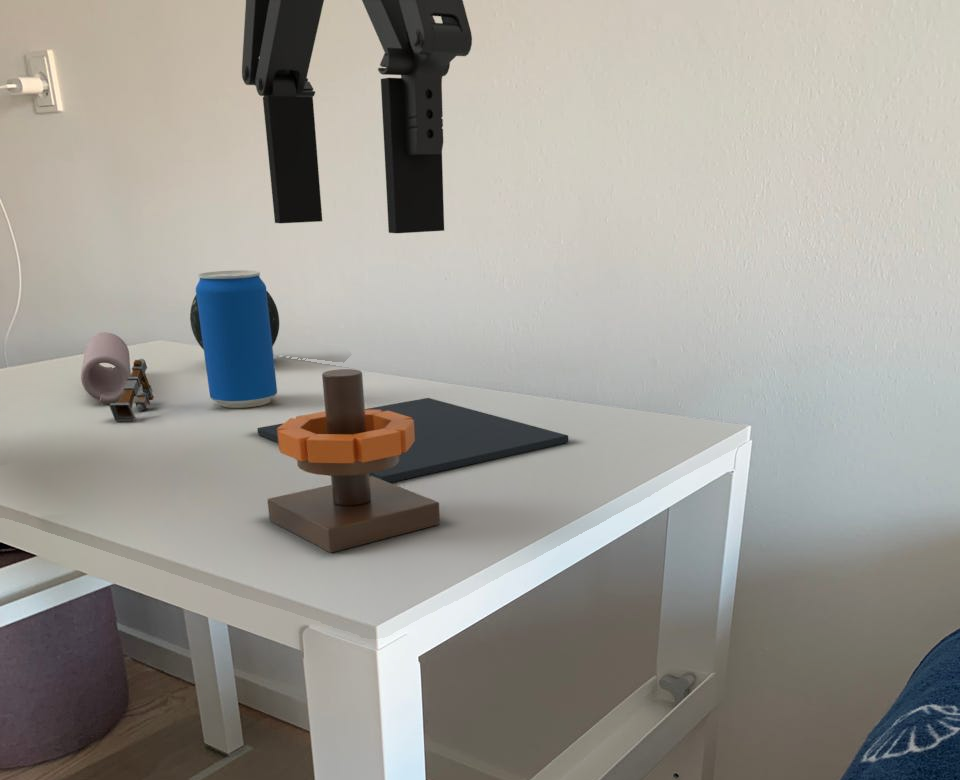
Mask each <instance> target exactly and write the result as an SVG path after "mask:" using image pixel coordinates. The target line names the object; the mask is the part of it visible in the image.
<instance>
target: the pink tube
mask: <svg viewBox="0 0 960 780" xmlns="http://www.w3.org/2000/svg"><path fill="white" fill-rule="evenodd" d="M101 364H109V365H112V366H114V367H112V366H104V365H101ZM131 374H132V372H131V359H130V350H129V347H128V345H127V344H126V342H125V341H124V340H123V338H121V337H120V336H118V335H117V334H114V333H112V332H108V331H107V332H106V331H104V332H103V331H102V332H97V333H95V334H93V335H92V336H91V337H90V338H89V339H88V341H87V342H86V345H85V349H84V354H83V359H82V366H81V370H80V382H81V385H82V387H83V389H84V390H85V392H86V393H87V394H88V395H89V396H90V397H92V398H94V399H95V400H97V401H99V403H100V404H104V405H105V404H106V405H111V403H117V402H118V401H119V400H120V398H121V397H122V395H123V393H124V387H125V385H126V381H127V379H128V377H130V376H131Z"/></svg>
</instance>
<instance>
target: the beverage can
mask: <svg viewBox="0 0 960 780" xmlns="http://www.w3.org/2000/svg"><path fill="white" fill-rule="evenodd" d="M260 275H261V272H260V271H258V270H246V269H245V270H244V269H243V270H242V269H241V270H219V271H218V270H217V271H208V272H201V273H199V274H198V275H197V276H198V278H199V280H198V282H197V284H196V286H195V295H196V296H197V304H198V311H199V318H200V326H201V333H202V341H203V348H204V350H203V352H204V353H203V355H204V362H205V368H206V376H207V384H208V392H209V398H210V399H212V401H215V402H217V403H218V405H219V406H221V407H223V408H229V409H230V408H231V409H244V408H245V409H246V408H256V407H260V406H264V405H267V404H269V403H270V402H271V400H272V399H273V398H274V397H275V396H276V395H277V394H278V387H277V377H276V367H275V359H274V358H275V357H274V348H273V347H274V346H273V347H272V338H271V329H270V319H269V310H268V301H267V291H268V290H267V286H266V283H265V282H264V280H263V279H261V277H260ZM266 290H267V291H266Z"/></svg>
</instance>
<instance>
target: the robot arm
mask: <svg viewBox="0 0 960 780" xmlns="http://www.w3.org/2000/svg"><path fill="white" fill-rule="evenodd" d="M361 1H362V3H363V7H364V8H365V11H366V13H367V16H368V18H369V20H370V22H371V24H372V27H373V29H374V31H375V34H376V36H377V38H378V40H379V42H380V45H381V47H382V50H383V52H384V54H383V55H382V59H381V61H380V63H379V66H380V67H378V68H377V71H378V72H379V74H380V75H386V76H387V75H388V76H400V77H385V78H384V77H383V78H380V93H381V113H382V130H383V149H384V150H383V151H384V168H385V169H384V170H385V187H386V207H387V226H388V229H387V230H388V234H410V233H411V234H412V233H428V232H429V233H430V232H444V231H445V211H444V209H445V208H444V207H445V206H444V176H443V174H444V173H443V146H444V129H443V127H444V119H443V114H444V113H443V112H444V111H443V77H446V76H447V74H449V70H450V66H451V62H452V61H453V60H454V59H455V58H456V57H467V56H468V55H469V54H470V52H471V50H472V46H473V35H472V30H471V26H470V23H469V19H468V15H467V12H466V7H465V4H464V1H463V0H361ZM324 3H325V0H245V8H244V29H243V41H242V42H243V43H242V61H241V78H242V81H243V83H244V84H245V85H246V86H255V88H256V92H257V94H258V96H260V97H262V102H263V113H264V124H265V135H266V145H267V156H268V166H269V173H270V174H269V177H270V187H271V198H272V207H273V218H274V224H295V223H297V224H298V223H314V222H315V223H316V222H317V223H318V222H319V223H320V222H323V212H322V211H323V210H322V201H321V200H322V199H321V198H322V197H321V185H320V174H319V173H320V171H319V159H318V148H317V135H316V133H317V132H316V122H315V109H314V107H315V106H314V97H315V94H316V91H315V90H314V88H313V86H312V84H311V81H309V78H308V73H309V69H310V64H311V59H312V56H313V51H314V46H315V42H316V38H317V34H318V29H319V24H320V21H321V16H322V11H323V6H324ZM435 17H440V18H441V22H436V20H435Z"/></svg>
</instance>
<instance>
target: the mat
mask: <svg viewBox="0 0 960 780" xmlns="http://www.w3.org/2000/svg"><path fill="white" fill-rule="evenodd" d="M365 410H382V412H383V411H391V412H395V413H398V414H401V415H405V416H408V417H411V418H412V419H413V420H414V433H415V441H414V443H413V444H412V445H411V447H410V448H409V449H408V451H407V452H401V455H400V461H399V463H398V464H396V465H395V466H393V467H391V468H389V469H386V470H383V471H379V472H374V473H369V476H373V477H376V478H378V479H381V480H384V481H386V482H389V483H391V484H392V483H395V482H400V481H403V480H404V481H405V480H408V479H412V478H416V477H420V476H425V475H430V474H435V473H439V472H443V471H447V470H452V469H455V468H456V469H457V468H461V467H466V466H470V465H474V464H479V463H482V462H488V461H492V460H496V459H500V458H505V457H510V456H514V455H517V454H523V453H528V452H533V451H536V450H541V449H545V448H549V447H554V446H559V445H562V444H567V443H569V435H568V434H565V433H561V432H557V431H553V430H550V429H546V428H542V427H538V426H534V425H531V424H527V423H523V422H520V421H516V420H512V419H509V418H505V417H501V416H498V415H493V414H491V413H488V412H487V413H486V412H483V411H479V410H475V409H471V408H468V407H464V406H460V405H456V404H453V403H449V402H445V401H441V400H437V399H434V398H430V397H424V398H419V399H414V400H408V401H403V402H397V403H392V404H386V405H379V406H374V407H369V408H365ZM284 423H285V422H281V423H278V424H277V423H276V424H272V425H266V426H261V427H257V428H256V429H257V435H259V436H261V437H264V438H266V439H269V440H271V441H274V442H276V443H278V434H277V428H278V427H280V426H281V425H282V424H284Z"/></svg>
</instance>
